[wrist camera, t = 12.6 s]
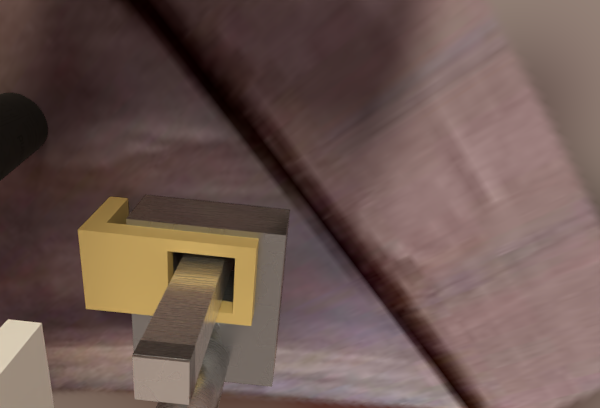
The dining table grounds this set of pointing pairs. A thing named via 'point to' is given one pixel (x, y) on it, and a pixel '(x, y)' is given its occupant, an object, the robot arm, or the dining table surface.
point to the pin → (180, 330)
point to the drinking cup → (19, 130)
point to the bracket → (155, 263)
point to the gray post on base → (227, 290)
